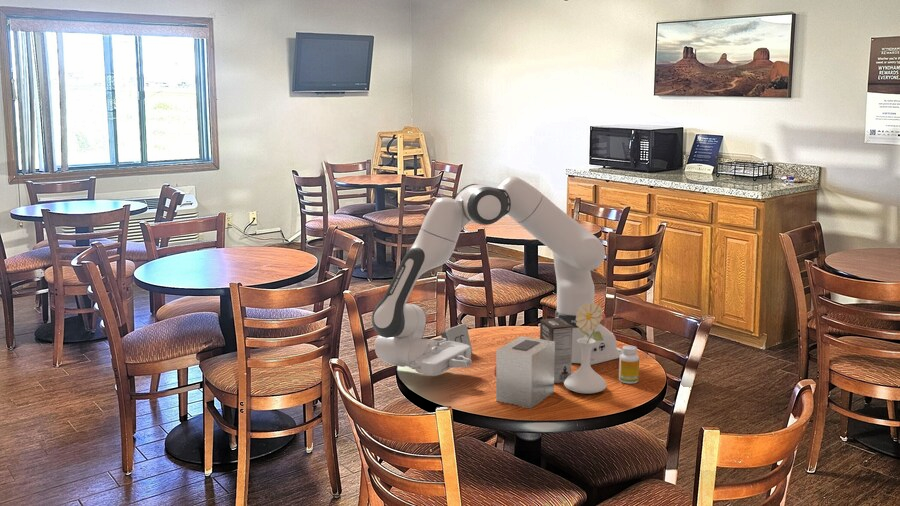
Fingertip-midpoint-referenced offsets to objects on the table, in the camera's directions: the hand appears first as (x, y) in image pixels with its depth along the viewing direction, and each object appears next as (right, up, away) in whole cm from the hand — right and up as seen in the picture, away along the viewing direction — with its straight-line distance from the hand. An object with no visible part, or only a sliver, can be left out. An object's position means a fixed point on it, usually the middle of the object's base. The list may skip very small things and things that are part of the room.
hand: (469, 363), depth 227 cm
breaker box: (+15, -8, -7) cm, 18 cm away
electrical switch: (-3, -1, +28) cm, 28 cm away
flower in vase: (+31, -7, -3) cm, 32 cm away
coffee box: (+24, -5, +8) cm, 26 cm away
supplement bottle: (+44, -6, +5) cm, 45 cm away
